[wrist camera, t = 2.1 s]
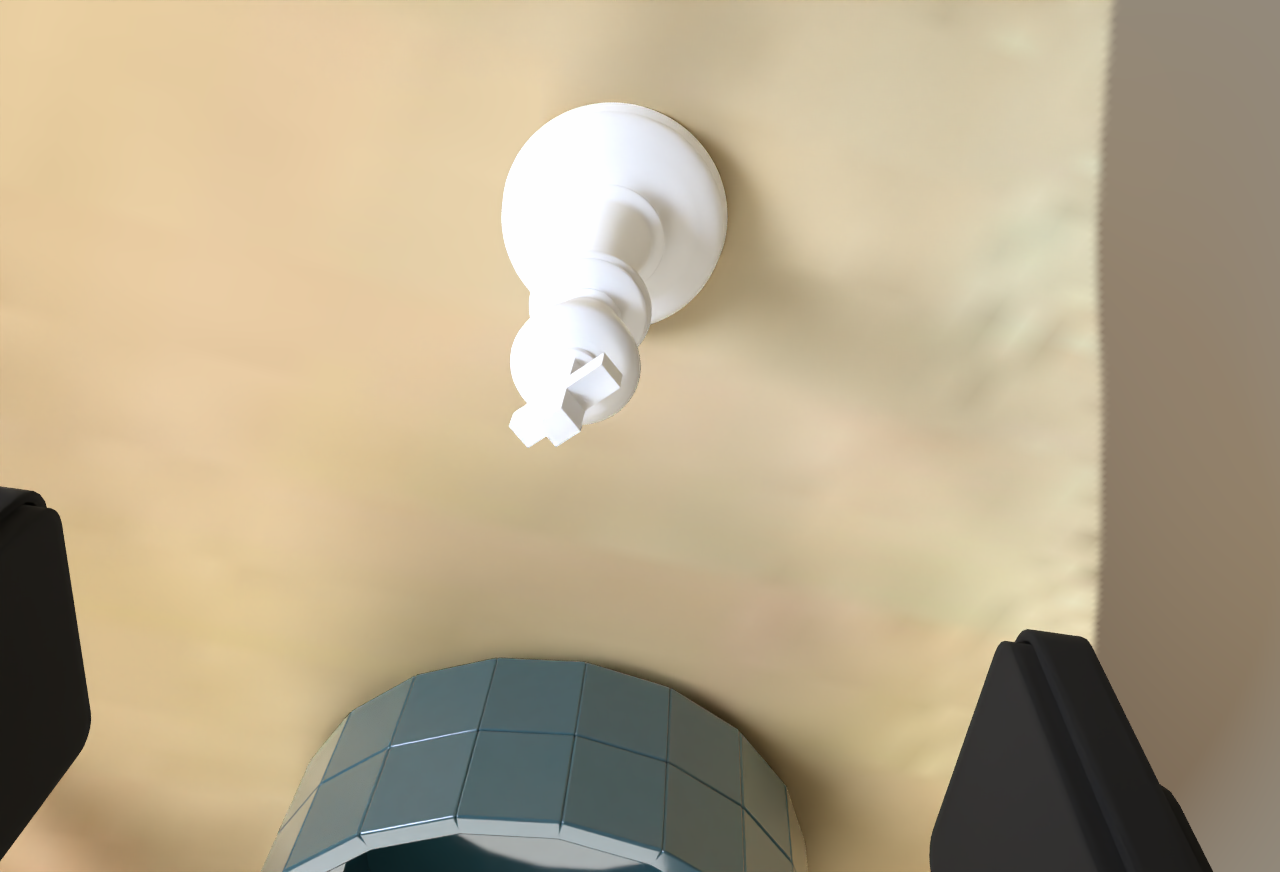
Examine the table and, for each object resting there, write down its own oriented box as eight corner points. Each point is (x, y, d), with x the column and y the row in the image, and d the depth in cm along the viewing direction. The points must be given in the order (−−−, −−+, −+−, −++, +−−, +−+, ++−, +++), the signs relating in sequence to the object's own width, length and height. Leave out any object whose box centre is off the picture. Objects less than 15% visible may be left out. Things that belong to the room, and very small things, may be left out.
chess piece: (771, 242, 23) (808, 467, 15) (594, 361, 25) (532, 627, 16) (638, 51, 22) (590, 177, 13) (457, 191, 23) (304, 388, 15)
